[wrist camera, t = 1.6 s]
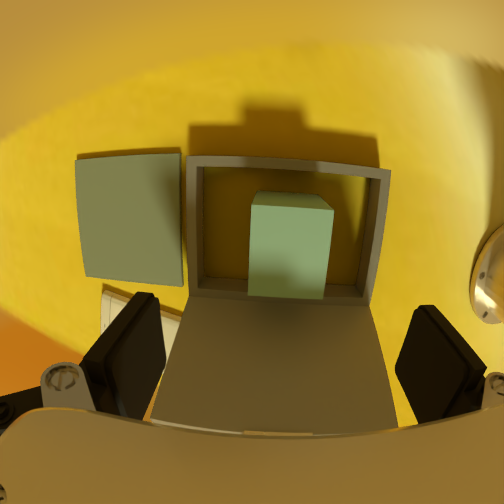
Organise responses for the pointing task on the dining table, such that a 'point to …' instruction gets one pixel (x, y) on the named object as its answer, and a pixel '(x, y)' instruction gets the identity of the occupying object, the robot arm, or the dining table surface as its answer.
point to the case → (195, 169)
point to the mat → (131, 218)
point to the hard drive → (116, 303)
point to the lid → (275, 370)
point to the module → (289, 245)
